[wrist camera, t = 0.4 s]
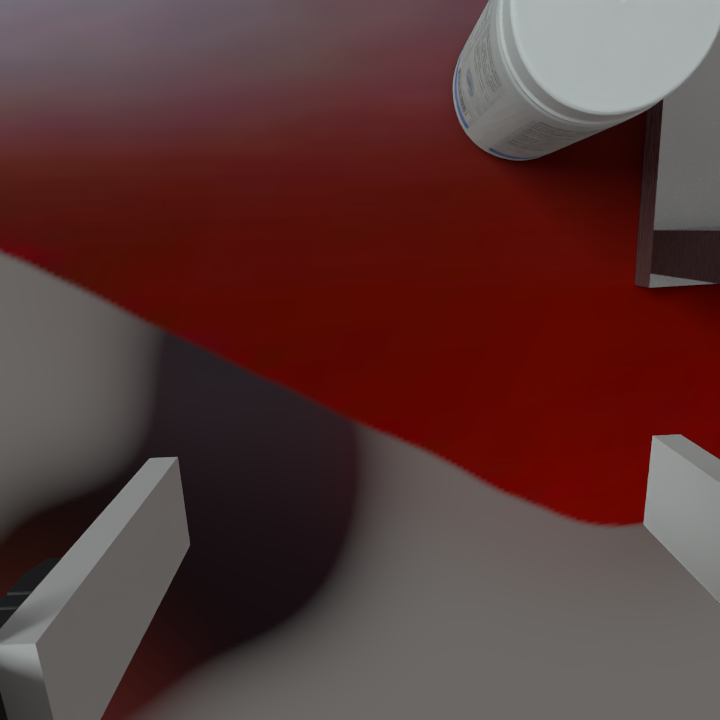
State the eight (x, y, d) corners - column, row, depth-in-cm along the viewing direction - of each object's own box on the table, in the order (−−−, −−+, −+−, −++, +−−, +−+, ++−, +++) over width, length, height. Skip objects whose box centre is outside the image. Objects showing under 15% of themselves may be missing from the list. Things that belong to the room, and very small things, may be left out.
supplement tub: (616, 72, 36) (789, -32, 22) (527, 190, 38) (633, 167, 23) (507, -23, 34) (615, -201, 20) (420, 105, 36) (463, 24, 22)
